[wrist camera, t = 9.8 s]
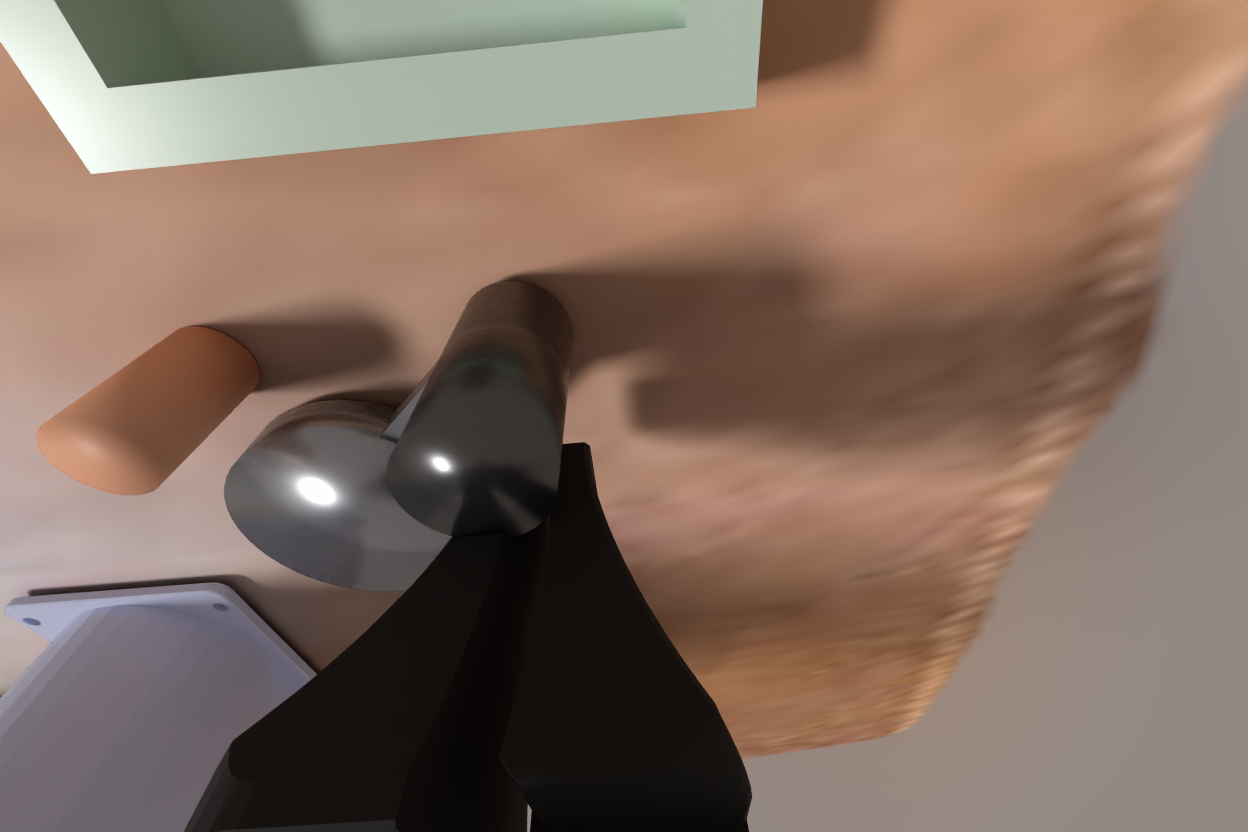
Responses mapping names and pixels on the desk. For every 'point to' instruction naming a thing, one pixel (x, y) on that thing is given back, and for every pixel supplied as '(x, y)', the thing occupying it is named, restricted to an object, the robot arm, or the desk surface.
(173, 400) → the post
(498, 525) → the crank
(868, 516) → the desk surface
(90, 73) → the tray
